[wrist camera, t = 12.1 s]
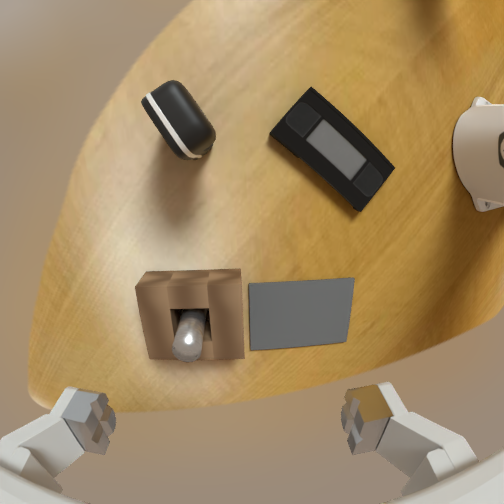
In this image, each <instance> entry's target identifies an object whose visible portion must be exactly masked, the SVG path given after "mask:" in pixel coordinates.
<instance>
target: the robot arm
mask: <svg viewBox="0 0 504 504" xmlns="http://www.w3.org/2000/svg"><path fill="white" fill-rule="evenodd" d="M453 154H454V161H455V165H456V169H457V172H458V175H459V177H460V179H461V181H462V183H463V185H464V186H465V188H466V189H467V190H468V191H469V193H470V194H471V196H472V199H473V202H474V205H475V208H476V210H477V211H480V212H484V211H488V210H492V209H496V208H499V207H503V206H504V104H495V105H492V104H491V103H490V102H488V101H487V100H485V99H484V98H483V97H475V99H474V101H473V103H472V105H471V107H470V109H468V110H467V111H465V112H464V113H463V114H462V115H461V116H460V118H459V120H458V122H457V124H456V127H455V131H454V137H453ZM345 400H346V404H345V405H344V406H343V407H342V412H341V421H342V426H343V429H344V431H345V432H346V433H348V434H349V437H348V440H347V441H348V444H349V447H350V450H351V453H352V455H355V454H360V453H365V452H370V451H374V450H376V452H377V453H379V454H380V455H381V456H382V457H384V458H385V459H386V460H387V461H389V462H390V463H391V464H393V465H394V466H395V467H397V468H398V469H399V470H400V471H402V472H403V473H404V474H406V475H407V476H409V477H410V480H409V481H408V482H407V483H406V485H405V486H404V487H403V489H402V490H401V493H402V497H400V498H397V499H394V500H391V501H387V502H384V503H381V504H504V448H502V449H500V450H498V451H497V452H495V453H494V454H492V455H490V456H489V457H487V458H485V459H483V460H482V461H480V462H479V460H478V459H477V457H476V456H475V454H474V452H473V451H472V449H471V448H470V446H469V444H468V443H467V441H466V440H465V438H464V437H463V436H461V435H459V434H457V433H454V432H452V431H450V430H448V429H446V428H444V427H442V426H440V425H438V424H436V423H434V422H432V421H430V420H427V419H426V418H424V417H422V416H420V415H418V414H416V413H414V412H408V411H407V409H406V407H405V406H404V404H403V402H402V401H401V399H400V397H399V396H398V394H397V392H396V391H395V389H394V387H393V386H392V384H391V383H390V382H384V383H380V384H376V385H370V386H364V387H360V388H354V389H348V390H347V392H346V394H345ZM108 401H109V400H108V398H107V396H106V394H105V393H102V392H96V391H91V390H86V389H79V388H74V387H70V386H69V387H67V388H65V390H64V392H63V393H62V395H61V396H60V398H59V399H58V401H57V403H56V404H55V406H54V407H53V409H52V411H51V412H50V414H49V415H48V414H45V415H43V416H41V417H40V418H38V419H36V420H34V421H32V422H30V423H29V424H27V425H25V426H23V427H21V428H19V429H17V430H15V431H14V432H12V433H10V434H8V435H6V436H4V437H2V439H1V441H0V504H90V503H86V502H83V501H80V500H77V499H74V498H71V497H68V496H66V495H63V494H61V492H62V487H61V485H60V484H59V483H58V482H57V481H56V480H55V479H54V477H56V476H57V475H58V474H59V473H61V472H62V471H63V470H64V469H65V468H67V467H68V466H69V465H70V464H71V463H72V462H74V461H75V460H76V459H77V458H79V457H80V456H81V455H82V454H83V453H84V451H87V452H92V453H97V454H102V455H105V453H106V450H107V448H108V445H109V442H110V441H109V439H108V436H109V435H111V434H112V433H113V432H114V429H115V425H116V417H115V413H114V411H113V409H112V408H111V407H110V406H109V405H107V403H108Z"/></svg>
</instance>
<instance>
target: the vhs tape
mask: <svg viewBox="0 0 504 504" xmlns="http://www.w3.org/2000/svg"><path fill="white" fill-rule="evenodd" d="M270 135H271V136H272V137H273V138H275V139H276V140H277V141H278V142H280V143H281V144H282V145H283V146H284V147H286V148H287V149H288V150H289V151H290V152H292V153H293V154H294V155H295V156H296V157H298V158H301V159H302V160H303V161H304V162H305V163H306V164H308V165H309V166H310V167H311V168H312V169H313V170H314V171H315V172H317V173H318V174H319V175H320V176H321V177H322V178H323V179H324V180H326V181H327V182H328V183H329V184H330V185H331V186H332V187H333V188H334V189H335V190H336V191H337V192H339V193H340V194H341V195H342V196H343V197H344V198H345V199H346V200H347V201H348V202H349V203H350V204H351V205H352V206H353V208H354V209H355V210H357V211H360V212H361V211H362V210H363V208H364V207H365V206H366V205H367V203H368V202H369V201H370V200H371V198H372V197H373V196H374V195H375V193H376V192H377V191H378V190H379V188H380V187H381V186H382V184H383V183H384V182H385V181H386V179H387V178H388V177H389V175H390V174H391V173H392V171H393V170H394V169H395V167H394V166H393V165H392V164H391V163H390V161H389V160H388V159H387V158H386V157H385V156H384V155H383V154H382V153H381V152H380V151H379V150H378V149H377V148H376V147H375V145H374V144H373V143H372V142H371V141H370V140H369V139H368V138H367V137H366V136H365V135H364V134H363V133H362V132H361V131H360V130H359V129H358V128H357V127H356V126H355V125H354V124H352V123H351V122H350V121H349V120H348V119H347V118H346V117H345V116H344V115H343V114H342V113H341V112H340V111H339V110H337V109H336V108H335V107H334V106H333V105H332V104H331V103H330V102H329V101H327V100H326V99H325V98H324V97H323V96H322V95H320V94H319V93H318V92H317V91H316V90H315V89H313V88H312V87H310V88H309V89H308V90H307V91H306V92H305V93H304V94H303V95H302V96H301V98H300V99H299V100H298V101H297V102H296V103H295V104H294V105H293V106H292V108H291V109H290V110H289V111H288V112H287V113H286V114H285V115H284V117H283V118H282V119H281V120H280V121H279V122H278V123H277V125H276V126H275V127H274V128H273V129H272V131H271V132H270Z"/></svg>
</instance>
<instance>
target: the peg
mask: <svg viewBox="0 0 504 504" xmlns="http://www.w3.org/2000/svg"><path fill="white" fill-rule="evenodd" d="M207 309H208V308H195V309H183V312H182V315H181V319H180V322H179V325H178V329H177V332H176V335H175V339H174V342H173V345H172V352H173V354H174V356H175V357H176V358H177V359H179V360H181V361H184V362H193V361H195V360H197V359H198V358H199V357H200V355H201V350H202V343H203V336H204V329H205V322H206V315H207Z"/></svg>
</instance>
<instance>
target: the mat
mask: <svg viewBox="0 0 504 504" xmlns="http://www.w3.org/2000/svg"><path fill="white" fill-rule="evenodd" d="M354 280H355V278H339V279H324V280H307V281H288V282H268V283H249V306H250V345H251V350H262V349H278V348H290V347H302V346H312V345H322V344H331V343H339V342H346V340H347V334H348V327H349V320H350V313H351V305H352V297H353V289H354Z"/></svg>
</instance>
